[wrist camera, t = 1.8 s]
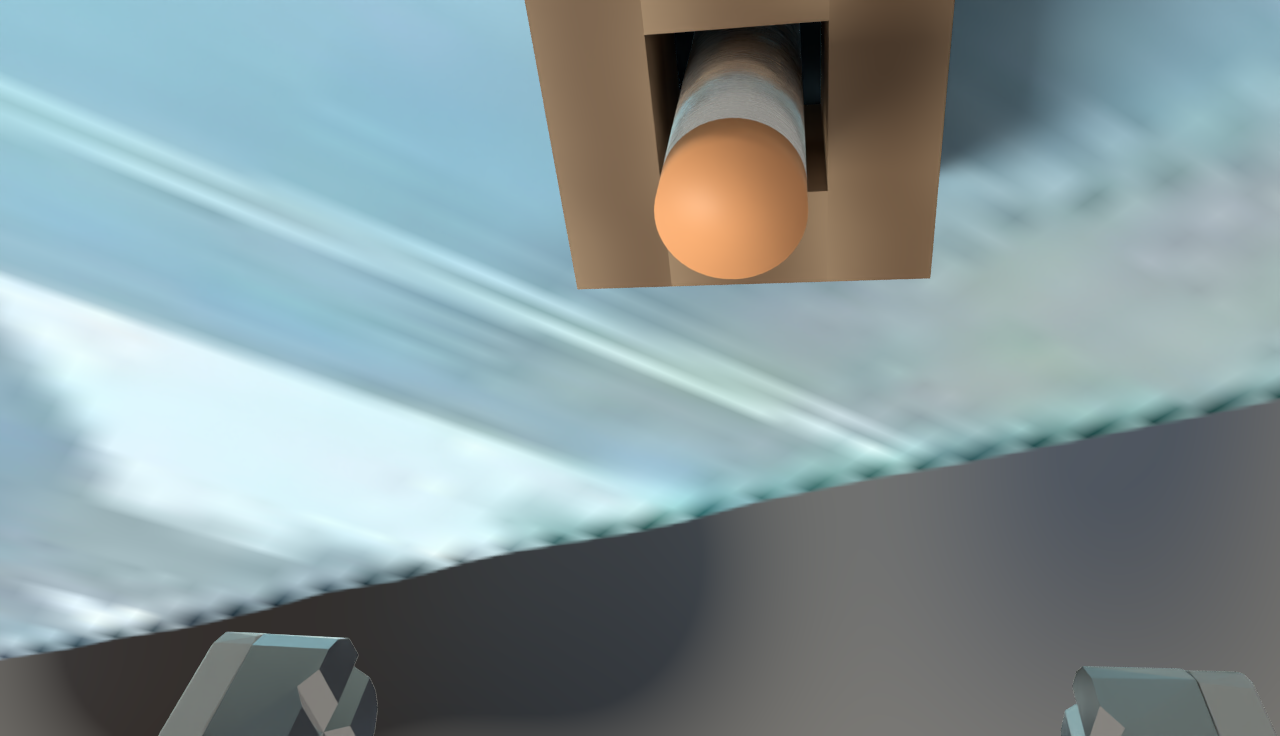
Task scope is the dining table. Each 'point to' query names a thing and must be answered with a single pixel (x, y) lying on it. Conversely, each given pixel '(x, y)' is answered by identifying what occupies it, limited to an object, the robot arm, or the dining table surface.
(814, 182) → the hitch block
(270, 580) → the dining table surface
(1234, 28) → the dining table surface
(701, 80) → the pin
